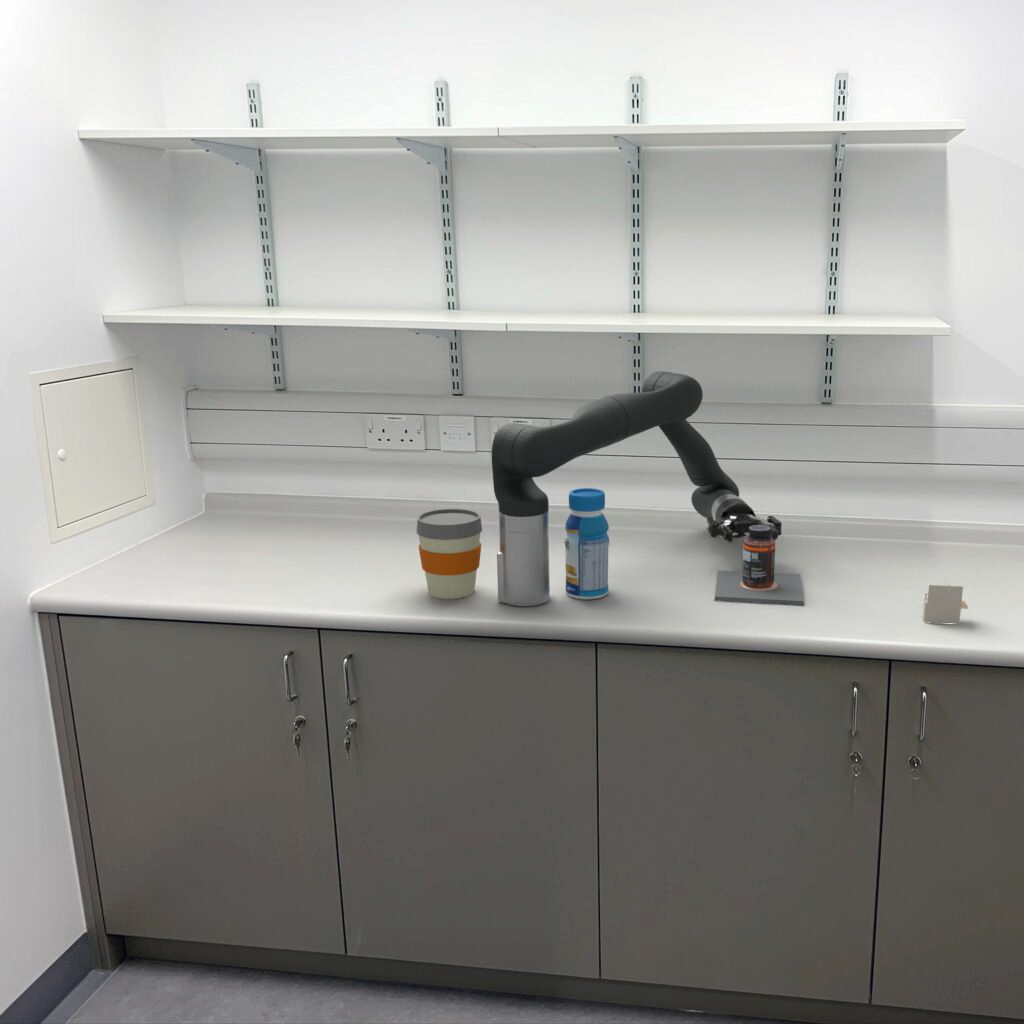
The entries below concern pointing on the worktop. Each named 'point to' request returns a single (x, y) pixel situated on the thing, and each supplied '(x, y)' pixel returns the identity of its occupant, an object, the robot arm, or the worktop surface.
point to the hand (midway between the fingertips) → (752, 536)
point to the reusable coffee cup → (450, 551)
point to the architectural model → (943, 604)
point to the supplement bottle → (758, 557)
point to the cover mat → (759, 589)
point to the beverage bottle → (586, 545)
